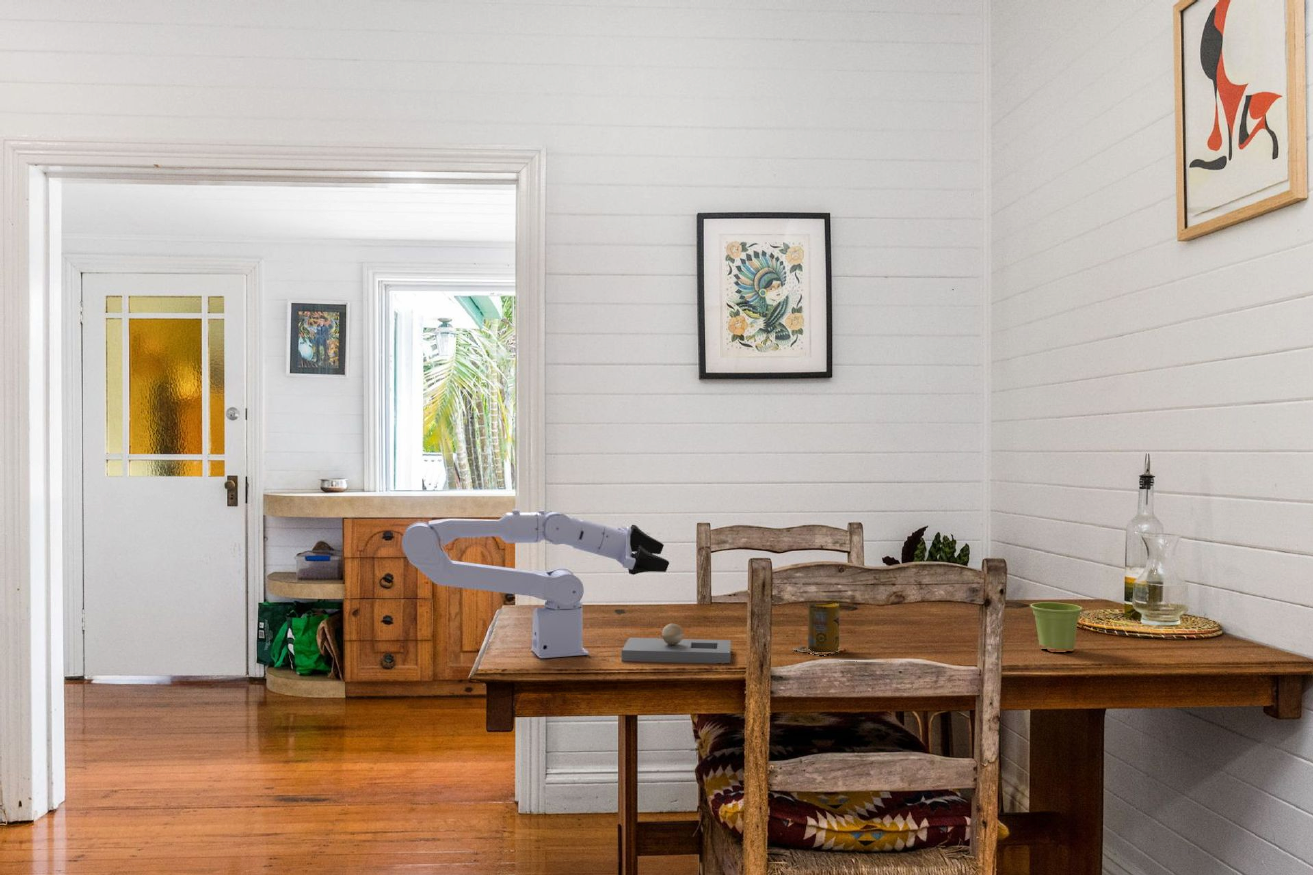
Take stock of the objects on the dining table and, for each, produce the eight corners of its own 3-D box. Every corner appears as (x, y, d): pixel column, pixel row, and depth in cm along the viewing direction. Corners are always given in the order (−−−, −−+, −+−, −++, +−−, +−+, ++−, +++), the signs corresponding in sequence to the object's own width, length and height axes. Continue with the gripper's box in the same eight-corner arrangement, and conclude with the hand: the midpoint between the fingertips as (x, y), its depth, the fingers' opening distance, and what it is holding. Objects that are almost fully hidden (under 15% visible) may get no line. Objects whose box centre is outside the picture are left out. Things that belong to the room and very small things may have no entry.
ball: (666, 647, 168) (666, 626, 168) (659, 643, 172) (659, 622, 172) (686, 646, 170) (686, 624, 170) (678, 641, 173) (678, 621, 173)
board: (621, 660, 166) (621, 650, 166) (629, 647, 177) (629, 637, 177) (730, 663, 164) (730, 652, 164) (730, 650, 175) (730, 639, 175)
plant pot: (1030, 653, 174) (1030, 608, 174) (1030, 643, 183) (1030, 600, 183) (1084, 657, 170) (1083, 611, 170) (1080, 647, 179) (1080, 603, 179)
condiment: (848, 650, 176) (848, 588, 176) (822, 657, 170) (822, 593, 170) (817, 644, 181) (817, 584, 181) (791, 650, 175) (792, 589, 176)
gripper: (609, 538, 167) (677, 556, 170) (603, 506, 180) (666, 524, 184) (597, 570, 169) (664, 588, 172) (592, 537, 182) (654, 554, 185)
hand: (664, 557), depth 178 cm, fingers open, 7 cm apart
